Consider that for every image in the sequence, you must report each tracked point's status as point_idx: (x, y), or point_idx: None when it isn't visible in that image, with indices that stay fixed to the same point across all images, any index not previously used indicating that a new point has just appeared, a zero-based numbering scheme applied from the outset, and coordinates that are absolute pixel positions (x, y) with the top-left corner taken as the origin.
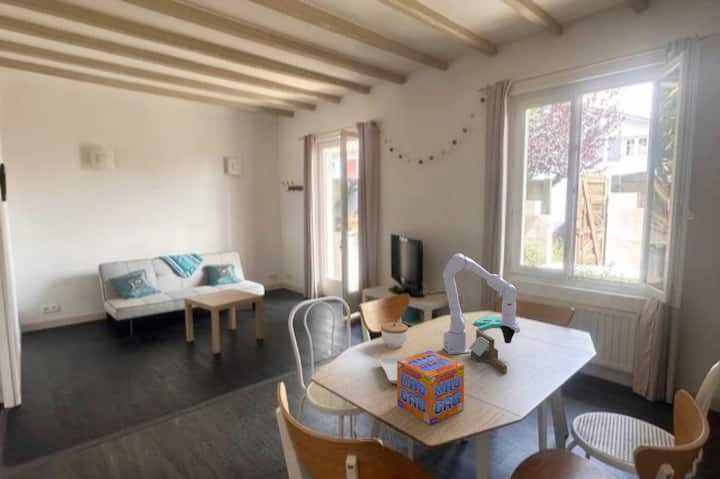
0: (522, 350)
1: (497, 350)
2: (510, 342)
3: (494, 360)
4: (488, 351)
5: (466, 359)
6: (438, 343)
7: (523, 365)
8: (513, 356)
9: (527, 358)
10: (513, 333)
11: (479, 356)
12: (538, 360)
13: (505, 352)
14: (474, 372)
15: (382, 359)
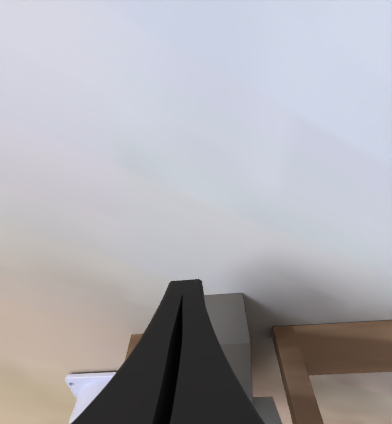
0: (79, 53)
1: (249, 343)
2: (202, 287)
3: (346, 368)
4: (251, 380)
5: None
6: (41, 419)
7: (380, 197)
8: (214, 194)
9: (271, 103)
10: (241, 390)
11: (272, 399)
12: (342, 12)
13: (136, 215)
14: (353, 400)
15: None
